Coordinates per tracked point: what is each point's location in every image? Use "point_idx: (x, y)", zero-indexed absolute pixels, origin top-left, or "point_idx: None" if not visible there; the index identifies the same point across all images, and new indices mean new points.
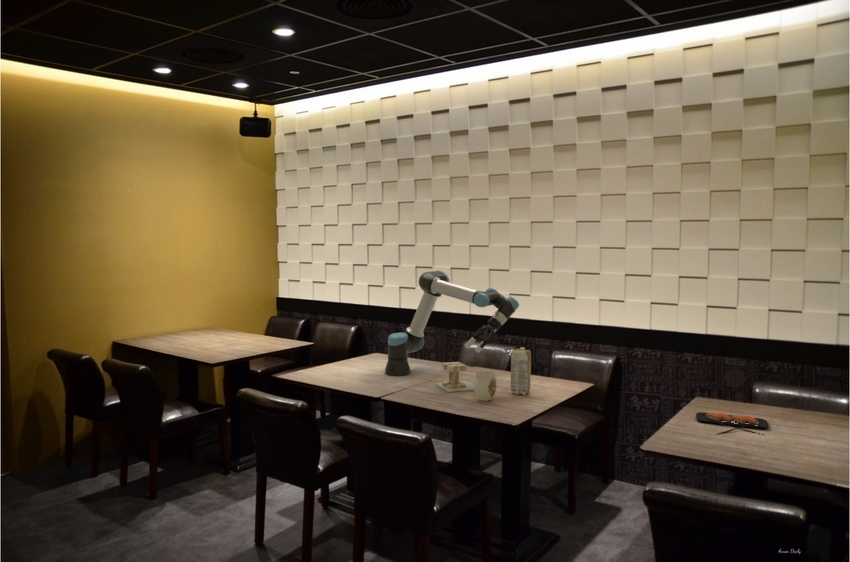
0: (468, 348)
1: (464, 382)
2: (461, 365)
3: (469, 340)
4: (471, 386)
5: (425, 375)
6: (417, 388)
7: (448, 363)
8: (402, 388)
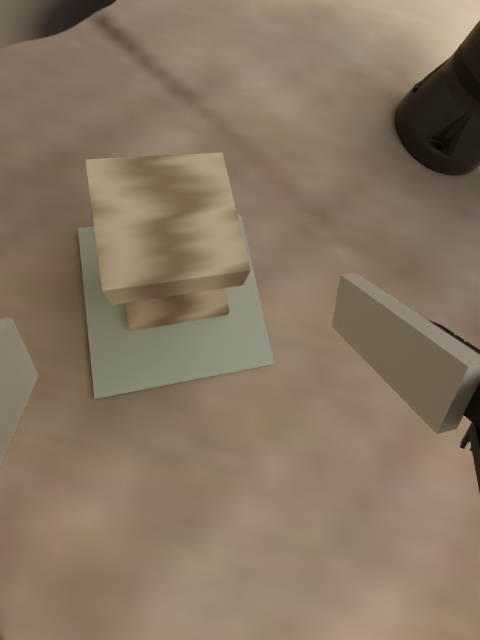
0: (335, 328)
1: (243, 348)
2: (104, 251)
3: (409, 316)
4: (148, 364)
5: (410, 219)
6: (180, 134)
7: (196, 184)
8: (189, 86)
